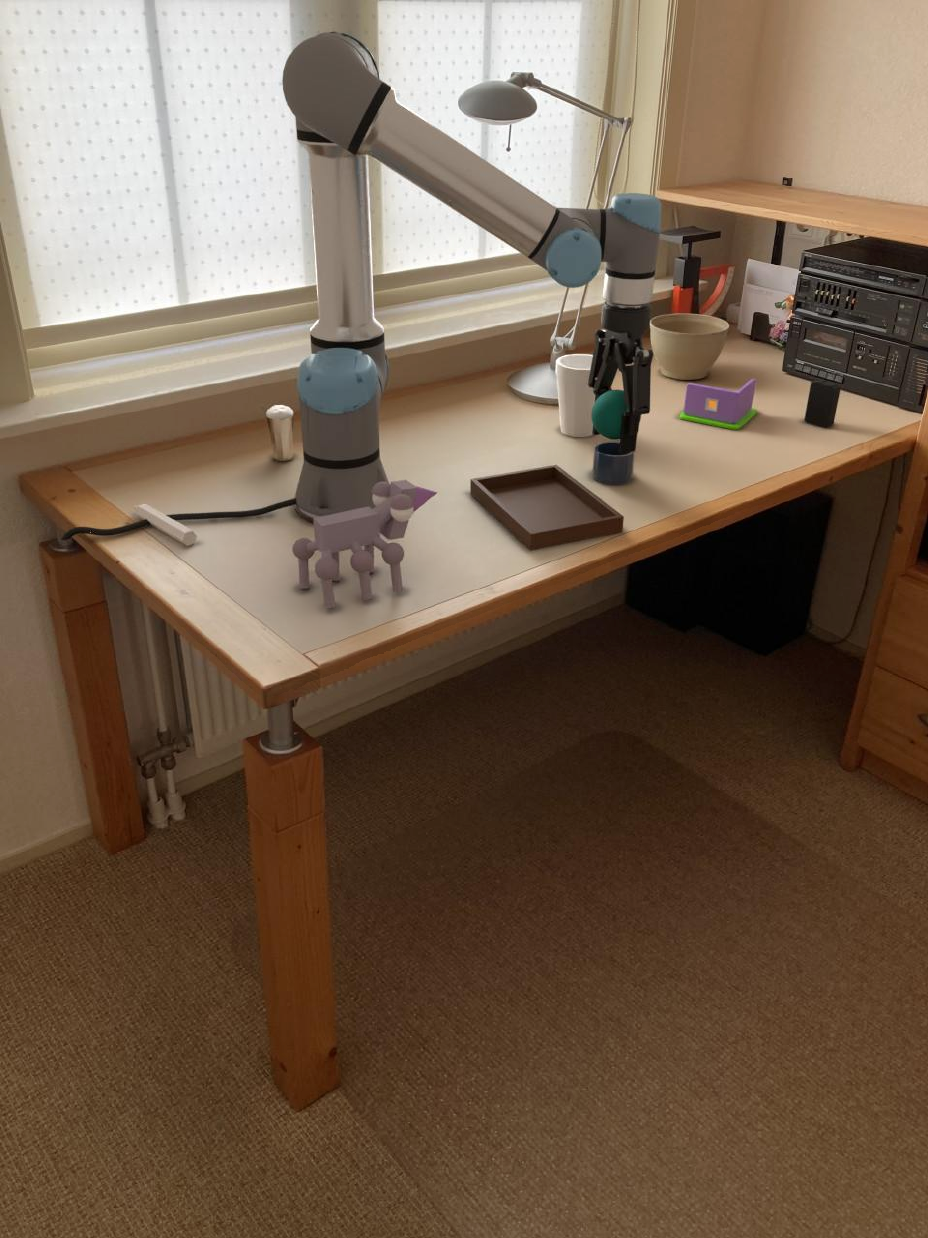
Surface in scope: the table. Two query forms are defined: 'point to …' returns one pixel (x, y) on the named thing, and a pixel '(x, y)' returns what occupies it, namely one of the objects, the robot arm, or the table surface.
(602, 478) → the cup
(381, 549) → the toy sheep
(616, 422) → the ball
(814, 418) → the ink cartridge
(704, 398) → the toy room diorama
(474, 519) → the table surface
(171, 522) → the marker
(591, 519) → the tray
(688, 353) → the planter bowl
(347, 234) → the robot arm
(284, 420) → the milkshake
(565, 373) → the foam cup
